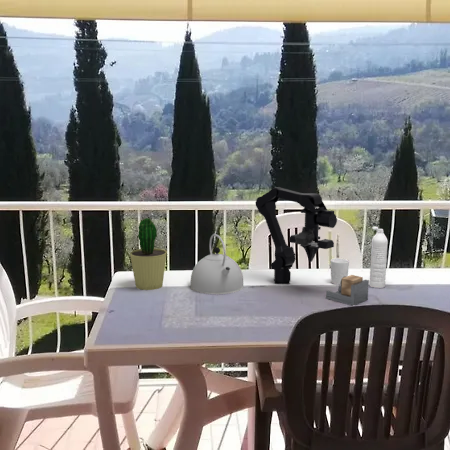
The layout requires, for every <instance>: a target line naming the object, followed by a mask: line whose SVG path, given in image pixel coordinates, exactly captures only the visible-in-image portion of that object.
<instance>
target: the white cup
mask: <svg viewBox="0 0 450 450" xmlns="http://www.w3.org/2000/svg"><path fill="white" fill-rule="evenodd" d="M349 266H350V260H349V259H347V258H342V257H341V258H339V257H335V258H331V259H330V282H331V284H334V285H338V286H341V285H340V283H341V279H342V278H343V277H344V276H346V277H347V276H349Z"/></svg>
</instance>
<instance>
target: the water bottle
mask: <svg viewBox="0 0 450 450" xmlns="http://www.w3.org/2000/svg"><path fill="white" fill-rule="evenodd" d="M371 229H372V230H376V233H375V234H374V236H372V239H371V253H370V269H369V270H370V271H369V287H371V288H374V289H383V288H385V287H386V278H387V277H386V275H387V274H386V273H387V272H386V271H387V261H388V259H387V256H388V244H389V243H388V242H389V241H388V238H387V236H386V235H385V233H384V229H383V228H379V226H372V228H371Z"/></svg>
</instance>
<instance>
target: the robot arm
mask: <svg viewBox="0 0 450 450" xmlns="http://www.w3.org/2000/svg"><path fill="white" fill-rule="evenodd" d="M280 199H283V200H286V201H290V202H293V203H296V204H299V205H300V207H303V208H302V210H301V211H300V213H301V214H304V226H302V228H301V229H302V230H301V232H299V233H295V234H291V235H290V236H289V238H288V240H289V243H292V244H296V245H299V246H300V247H302V248H303V249H304V250H305V253H306V256H307V260H308V262H310V263H311V262H313V260H314V259H315V256H316V254H317V253H318V251H319V249H323V250H327V249H328V250H329V249H331V248H334V247H335V242H334V240H332V239H326V238H324V239H321V236H319V231H320V230H321V227H324V228H330V229H333V228H335V227H336V225H337V223H338V218H337V215H336V214H335V211H334V210H328V209H327V206H326V205H325V203H324V201H323V199H322V197H321V195H320V193H314V192H313V193H311V192H310V193H308V192H307V193H305V192H304V193H302V192H298V191H295V190H291V189H288V188H283V187H280V186H278V187H272V188H271V189H270V190H269V191H267V192H266V193H264V194H263V195H262V194H261V196H258V197H257V198H256V199H255V200H256V201H255V207H256V209H257V210H258V213H259V214H260V215H262V216H263V218H264V219H265V222H266V225H267V228H268V232H269V233H270V236H271V239H272V242H273V244H274V249H275V251H274V260H273V262H272V263H270V268H271V270H273V279H272V280H273V282H274V284H275V285H277V284H278V285H279V284H282V285H283V284H285V285H288V284H290V283H291V274H292V273H291V271H290V268H293V265H294V264H295V262H296V259H297V258H296V256H297V255H296V253H295V251H294V247H293V246H289V245H288V244H287V242H286V240H285V237H284V234H283V232H282V229H281V226H280V223H279V221H278V218H277V215H276V212H277V211H276V210H277V202H278V201H279V200H280Z"/></svg>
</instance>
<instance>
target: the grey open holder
mask: <svg viewBox="0 0 450 450" xmlns="http://www.w3.org/2000/svg"><path fill="white" fill-rule="evenodd" d="M369 282H370V279H369V280H368V279H363V281H360V282H358V283H355V284H353V285H351V296H347V295H343V294H341V289H342V288H341V285H338V287H337V288H338V289H337V290H338V291H332V290H326V291H325V299H327V300H331V301H334V302H338V303H340V304H341V303H342V304H345V305H349V306H352V305H355V306H356V305H359V304H361V303H363V302H366V301H368V299H369V287H370V285H369Z"/></svg>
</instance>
